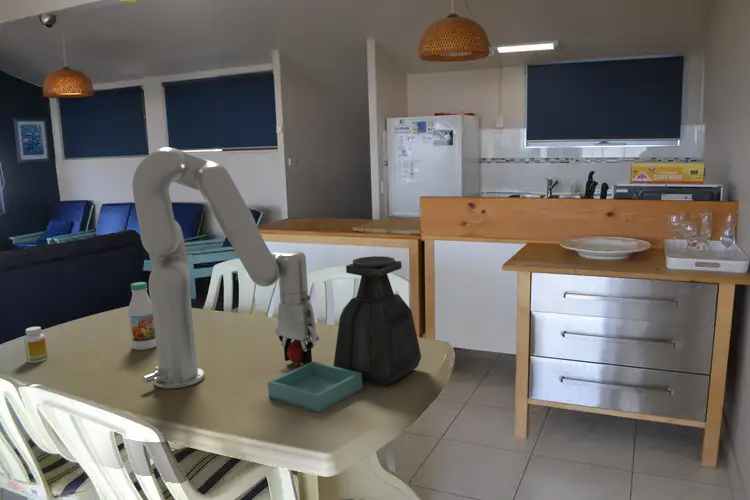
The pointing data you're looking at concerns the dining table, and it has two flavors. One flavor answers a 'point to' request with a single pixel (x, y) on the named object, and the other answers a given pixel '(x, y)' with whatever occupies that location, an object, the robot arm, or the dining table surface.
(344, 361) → the bottle
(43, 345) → the supplement bottle
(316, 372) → the serving dish
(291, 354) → the onion
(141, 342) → the milk bottle
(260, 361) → the dining table surface
